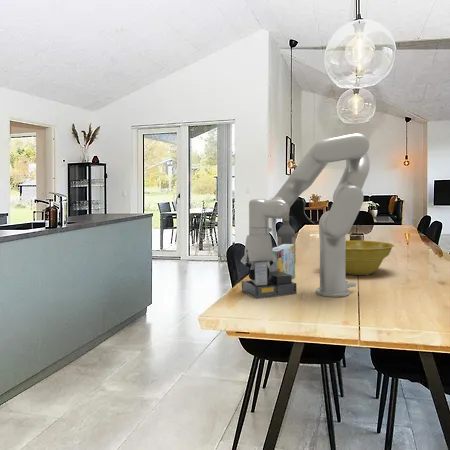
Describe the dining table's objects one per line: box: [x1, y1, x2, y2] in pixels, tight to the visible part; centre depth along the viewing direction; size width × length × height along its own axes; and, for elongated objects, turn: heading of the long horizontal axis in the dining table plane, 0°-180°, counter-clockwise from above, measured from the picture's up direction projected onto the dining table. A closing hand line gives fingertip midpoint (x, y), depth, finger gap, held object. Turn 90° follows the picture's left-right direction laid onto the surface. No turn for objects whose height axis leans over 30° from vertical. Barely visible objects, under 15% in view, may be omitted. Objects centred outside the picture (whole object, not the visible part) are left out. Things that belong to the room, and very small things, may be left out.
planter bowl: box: [346, 240, 395, 276], centre depth 217 cm, size 32×32×13 cm
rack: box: [241, 271, 298, 299], centre depth 181 cm, size 17×13×7 cm
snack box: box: [269, 244, 296, 279], centre depth 201 cm, size 21×6×15 cm, turn 152°
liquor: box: [276, 211, 296, 253], centre depth 243 cm, size 9×9×30 cm
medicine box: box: [252, 261, 267, 286], centre depth 179 cm, size 8×4×9 cm, turn 10°
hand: (259, 278), depth 180 cm, fingers closed on medicine box, 5 cm apart
